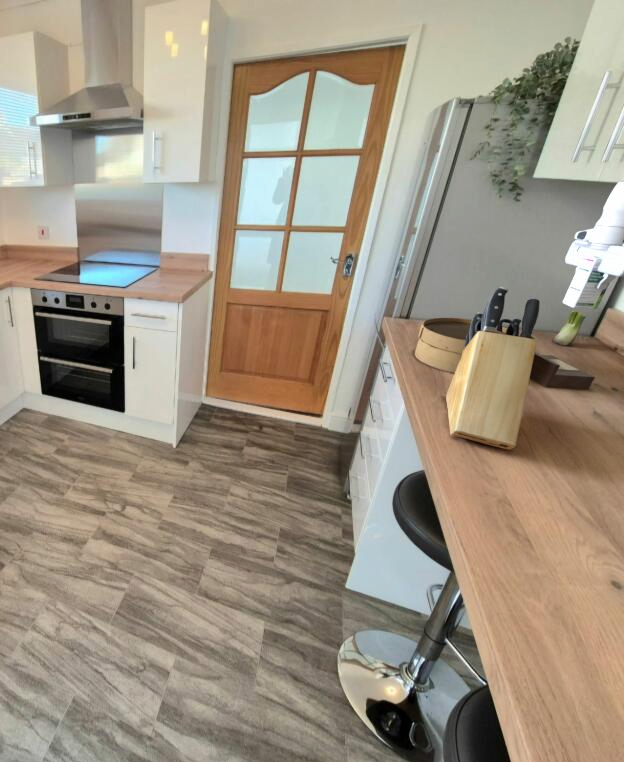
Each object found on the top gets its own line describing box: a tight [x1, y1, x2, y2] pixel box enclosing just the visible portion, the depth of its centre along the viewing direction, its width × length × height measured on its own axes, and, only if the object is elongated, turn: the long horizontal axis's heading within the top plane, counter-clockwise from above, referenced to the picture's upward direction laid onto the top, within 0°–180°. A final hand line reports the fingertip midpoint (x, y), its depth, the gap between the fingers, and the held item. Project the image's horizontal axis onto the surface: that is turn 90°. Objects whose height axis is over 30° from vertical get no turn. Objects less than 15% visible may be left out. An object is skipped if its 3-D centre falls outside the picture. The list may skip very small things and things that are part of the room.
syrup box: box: [562, 256, 611, 310], centre depth 126 cm, size 6×6×14 cm
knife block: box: [445, 286, 541, 450], centre depth 103 cm, size 11×35×31 cm, turn 147°
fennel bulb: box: [554, 310, 587, 346], centre depth 152 cm, size 6×5×12 cm
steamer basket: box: [414, 317, 520, 374], centre depth 139 cm, size 25×25×11 cm
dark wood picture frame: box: [529, 351, 596, 390], centre depth 129 cm, size 11×16×7 cm
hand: (588, 285), depth 126 cm, fingers closed on syrup box, 6 cm apart
